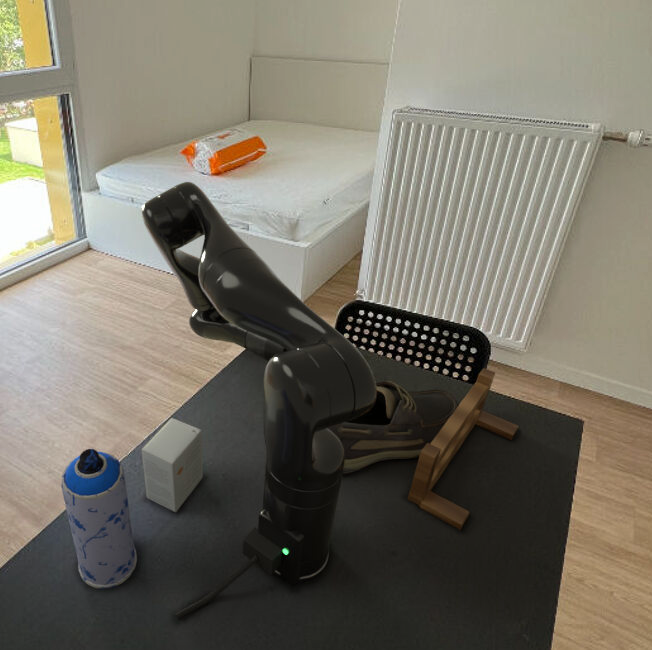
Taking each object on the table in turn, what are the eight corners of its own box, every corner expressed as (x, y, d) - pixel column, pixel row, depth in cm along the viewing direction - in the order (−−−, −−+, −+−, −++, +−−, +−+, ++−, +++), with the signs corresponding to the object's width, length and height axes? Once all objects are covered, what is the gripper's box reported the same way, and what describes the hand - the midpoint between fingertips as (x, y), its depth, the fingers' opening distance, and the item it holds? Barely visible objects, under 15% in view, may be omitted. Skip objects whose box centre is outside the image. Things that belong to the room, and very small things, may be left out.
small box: (174, 464, 87) (171, 416, 82) (203, 478, 85) (202, 428, 79) (145, 498, 81) (139, 448, 76) (175, 514, 79) (172, 463, 73)
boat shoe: (472, 436, 92) (489, 388, 86) (333, 495, 81) (342, 444, 76) (426, 400, 100) (438, 353, 95) (294, 448, 90) (299, 399, 84)
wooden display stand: (460, 530, 76) (478, 481, 71) (406, 500, 81) (419, 452, 75) (516, 431, 93) (534, 386, 88) (469, 411, 98) (484, 367, 92)
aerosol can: (94, 531, 76) (74, 426, 66) (145, 543, 75) (133, 438, 64) (67, 580, 70) (41, 473, 59) (123, 595, 68) (105, 488, 58)
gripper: (254, 340, 99) (336, 378, 89) (294, 313, 108) (373, 345, 98) (252, 372, 103) (331, 412, 93) (291, 344, 112) (367, 377, 102)
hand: (352, 377), depth 96 cm, fingers closed
